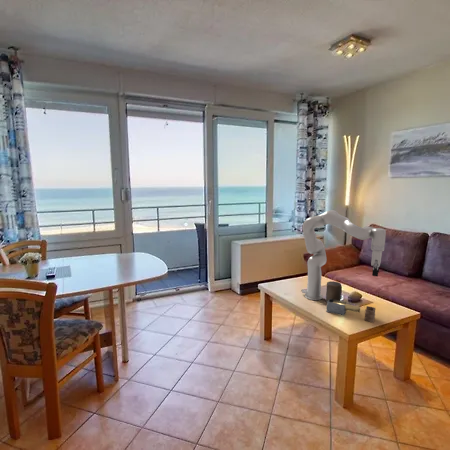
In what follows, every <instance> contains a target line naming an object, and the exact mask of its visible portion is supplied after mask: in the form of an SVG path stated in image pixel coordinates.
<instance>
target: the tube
mask: <svg viewBox="0 0 450 450" xmlns="http://www.w3.org/2000/svg"><path fill="white" fill-rule="evenodd" d="M333 303H337V304H342V305H345V310H346V311H349V312H355V313H360V312H361V306H357V305H352V304H348V303H346V304H344V303H339V302H333Z"/></svg>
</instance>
